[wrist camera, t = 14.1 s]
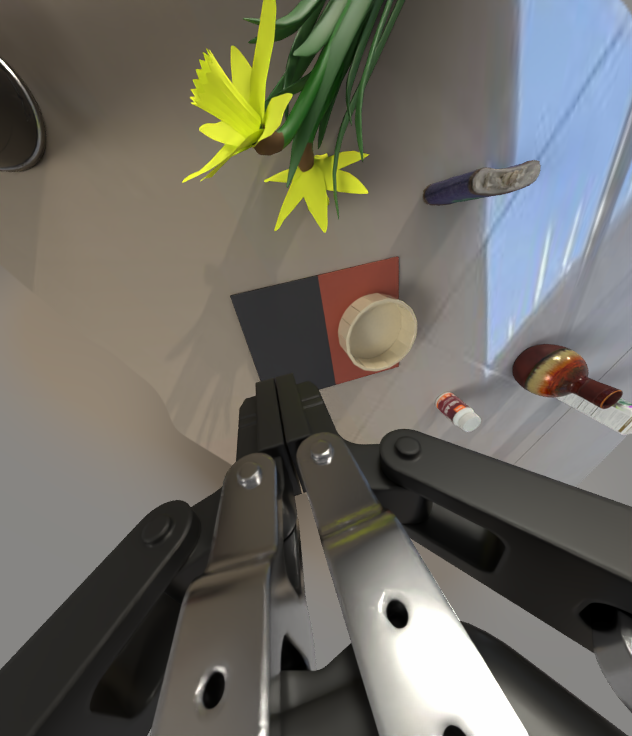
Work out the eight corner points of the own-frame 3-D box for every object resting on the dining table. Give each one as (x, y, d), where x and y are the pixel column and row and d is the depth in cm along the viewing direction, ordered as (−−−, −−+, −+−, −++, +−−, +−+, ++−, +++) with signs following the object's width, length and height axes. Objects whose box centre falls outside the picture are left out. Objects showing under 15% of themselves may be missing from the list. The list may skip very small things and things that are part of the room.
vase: (557, 342, 55) (653, 375, 42) (528, 383, 60) (607, 425, 47) (525, 335, 52) (618, 369, 39) (496, 379, 56) (571, 423, 43)
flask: (481, 174, 35) (563, 153, 26) (477, 199, 36) (553, 187, 27) (422, 184, 34) (486, 165, 24) (421, 209, 35) (480, 200, 26)
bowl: (341, 366, 44) (350, 379, 40) (333, 302, 38) (342, 309, 34) (401, 350, 46) (415, 360, 42) (402, 285, 40) (418, 290, 36)
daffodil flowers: (465, 32, 28) (321, 301, 29) (352, -7, 30) (221, 250, 31) (648, -477, 11) (291, 207, 13) (364, -504, 13) (76, 106, 14)
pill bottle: (445, 388, 54) (474, 412, 47) (456, 396, 56) (487, 419, 49) (430, 404, 55) (457, 429, 48) (442, 411, 57) (470, 436, 50)
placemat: (268, 402, 45) (269, 404, 44) (230, 295, 35) (230, 296, 34) (397, 365, 48) (398, 366, 47) (397, 256, 38) (398, 256, 37)
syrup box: (581, 379, 64) (660, 414, 52) (568, 398, 67) (639, 434, 55) (566, 379, 63) (644, 415, 50) (553, 398, 65) (624, 436, 53)
